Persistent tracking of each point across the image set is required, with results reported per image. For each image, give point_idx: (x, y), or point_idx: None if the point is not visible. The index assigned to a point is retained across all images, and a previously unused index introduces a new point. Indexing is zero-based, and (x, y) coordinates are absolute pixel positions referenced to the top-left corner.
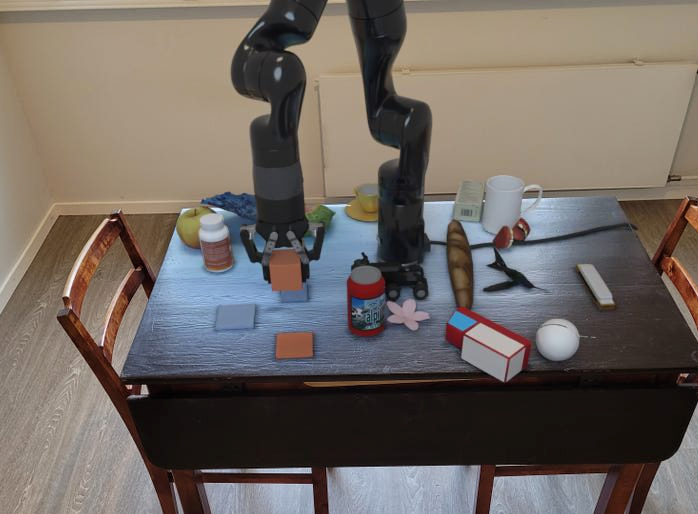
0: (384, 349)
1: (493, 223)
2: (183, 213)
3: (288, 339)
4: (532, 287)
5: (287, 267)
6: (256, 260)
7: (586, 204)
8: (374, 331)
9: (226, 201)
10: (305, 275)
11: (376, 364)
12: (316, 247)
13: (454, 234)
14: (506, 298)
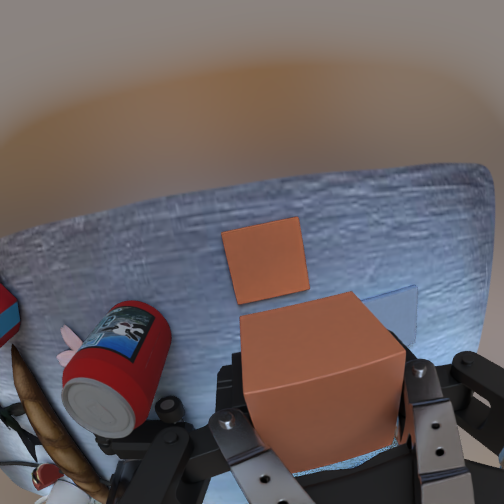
0: (94, 274)
1: (69, 493)
2: None
3: (282, 274)
4: None
5: (312, 368)
6: (456, 363)
7: (30, 491)
8: (111, 309)
9: None
10: (232, 371)
11: (97, 228)
12: (158, 484)
13: (88, 489)
14: (5, 389)
